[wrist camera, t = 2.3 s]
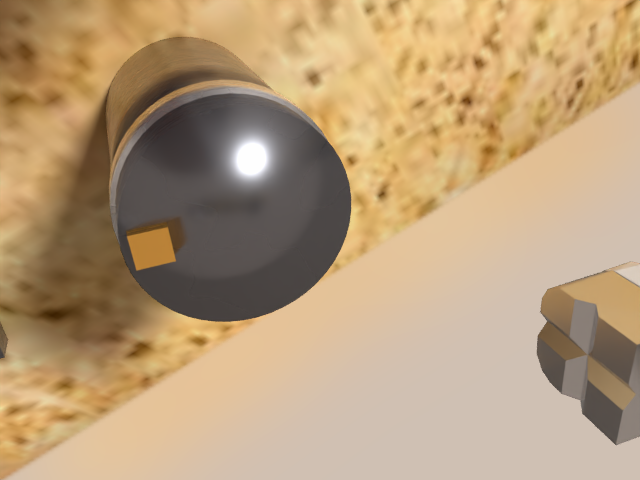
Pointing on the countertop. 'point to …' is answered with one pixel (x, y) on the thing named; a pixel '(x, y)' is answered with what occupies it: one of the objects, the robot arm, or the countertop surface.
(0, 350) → the mount
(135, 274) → the lens
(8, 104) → the countertop surface
